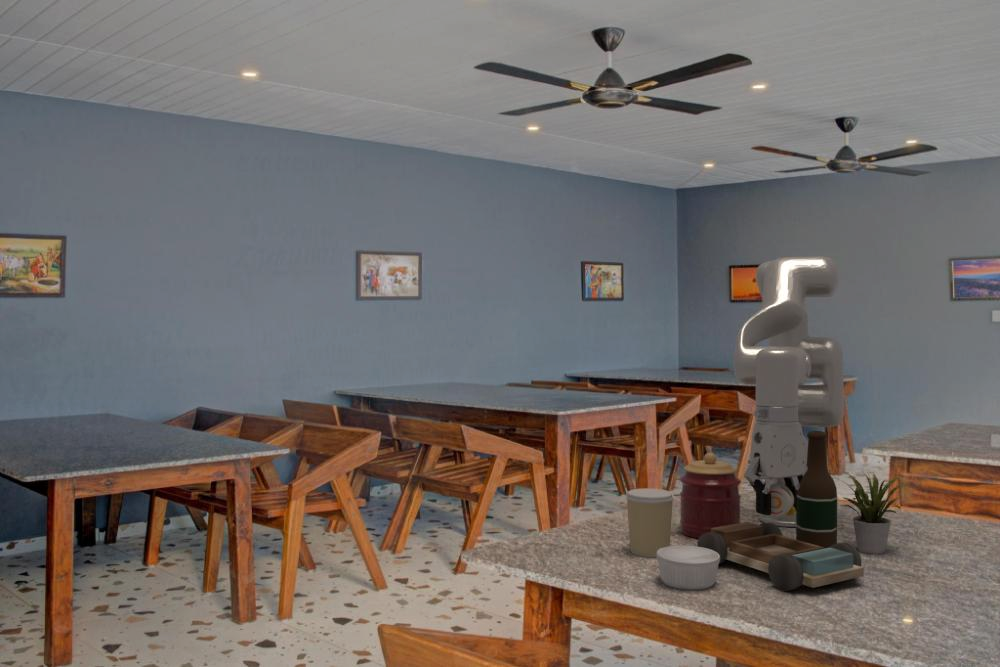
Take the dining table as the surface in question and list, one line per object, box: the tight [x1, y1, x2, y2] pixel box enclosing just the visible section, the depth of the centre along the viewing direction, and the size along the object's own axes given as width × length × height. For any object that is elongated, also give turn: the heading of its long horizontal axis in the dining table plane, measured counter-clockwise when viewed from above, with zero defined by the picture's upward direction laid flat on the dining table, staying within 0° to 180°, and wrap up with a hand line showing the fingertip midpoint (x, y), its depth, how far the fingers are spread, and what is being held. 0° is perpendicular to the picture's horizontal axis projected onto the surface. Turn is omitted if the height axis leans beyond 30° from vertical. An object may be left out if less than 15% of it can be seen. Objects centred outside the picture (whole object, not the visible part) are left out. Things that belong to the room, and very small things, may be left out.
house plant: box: [837, 470, 912, 555], centre depth 178 cm, size 14×14×16 cm
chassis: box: [696, 521, 865, 592], centre depth 165 cm, size 28×17×6 cm, turn 30°
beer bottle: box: [795, 430, 838, 548], centre depth 179 cm, size 8×8×24 cm
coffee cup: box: [625, 487, 674, 558], centre depth 178 cm, size 9×9×12 cm
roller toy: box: [763, 483, 795, 517], centre depth 164 cm, size 4×6×6 cm
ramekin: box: [655, 545, 720, 591], centre depth 158 cm, size 11×11×5 cm
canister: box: [679, 452, 742, 539], centre depth 192 cm, size 13×13×18 cm
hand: (776, 511), depth 164 cm, fingers closed on roller toy, 6 cm apart
